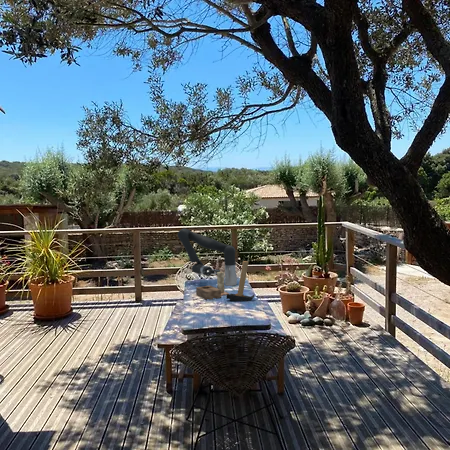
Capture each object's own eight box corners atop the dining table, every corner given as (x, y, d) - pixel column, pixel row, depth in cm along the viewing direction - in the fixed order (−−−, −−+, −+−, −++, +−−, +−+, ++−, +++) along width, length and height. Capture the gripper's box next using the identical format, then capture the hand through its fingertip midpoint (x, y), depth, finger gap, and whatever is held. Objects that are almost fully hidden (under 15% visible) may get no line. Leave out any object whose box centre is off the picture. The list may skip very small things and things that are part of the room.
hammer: (252, 302, 316) (259, 263, 314) (253, 304, 311) (260, 264, 309) (226, 298, 315) (232, 258, 313) (226, 299, 310) (232, 259, 308)
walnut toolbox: (210, 293, 338) (210, 285, 338) (220, 297, 322) (220, 289, 322) (196, 295, 332) (196, 287, 332) (206, 300, 317) (206, 292, 316)
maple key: (222, 291, 337) (221, 271, 336) (224, 292, 334) (224, 272, 333) (217, 292, 336) (217, 272, 334) (219, 293, 332) (219, 272, 331)
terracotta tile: (221, 291, 342) (221, 290, 342) (229, 294, 332) (229, 293, 331) (213, 292, 338) (213, 291, 338) (220, 296, 328) (220, 294, 328)
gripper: (198, 267, 352) (207, 270, 338) (213, 265, 359) (223, 268, 345) (198, 276, 353) (207, 279, 338) (214, 274, 359) (223, 277, 345)
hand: (215, 273), depth 341 cm, fingers open, 8 cm apart
